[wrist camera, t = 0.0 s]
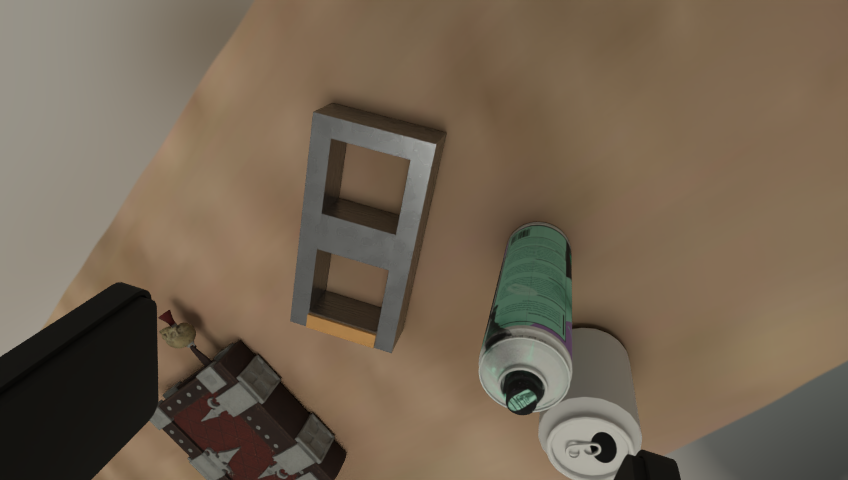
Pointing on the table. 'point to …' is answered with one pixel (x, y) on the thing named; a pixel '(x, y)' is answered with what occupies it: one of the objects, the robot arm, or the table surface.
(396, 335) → the grey rectangular grid frame
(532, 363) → the spray can
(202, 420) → the dark layered knobbed device
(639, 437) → the can
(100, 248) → the table surface
